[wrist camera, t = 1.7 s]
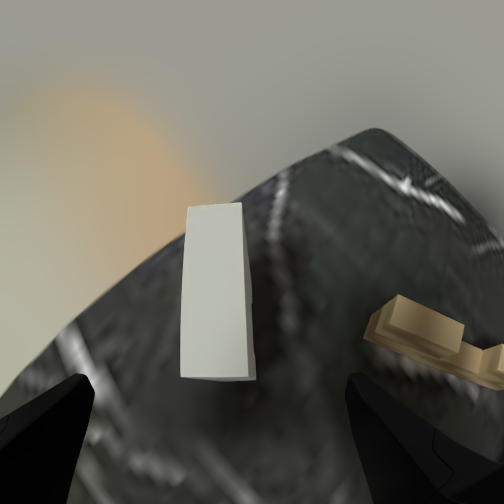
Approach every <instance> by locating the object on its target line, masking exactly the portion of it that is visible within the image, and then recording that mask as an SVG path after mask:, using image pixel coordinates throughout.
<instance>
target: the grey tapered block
mask: <svg viewBox="0 0 504 504" xmlns="http://www.w3.org/2000/svg"><path fill="white" fill-rule="evenodd" d="M251 303H252V283H251V274H250V267H249V259H248V251H247V243H246V235H245V227H244V219H243V211H242V203H227V204H216V205H215V204H214V205H202V206H192V207H188V211H187V222H186V234H185V247H184V262H183V280H182V303H181V377H186V378H194V379H202V380H212V381H251V380H256V362H255V354H254V348H253V328H252V307H251Z"/></svg>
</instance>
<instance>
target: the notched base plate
mask: <svg viewBox="0 0 504 504" xmlns="http://www.w3.org/2000/svg"><path fill="white" fill-rule="evenodd" d="M463 330H464V325H463V324H461V323H459V322H457V321H455V320H453V319H450V318H448V317H446V316H444V315H442V314H440V313H438V312H436V311H433V310H431V309H429V308H427V307H425V306H423V305H421V304H418V303H416V302H414V301H412V300H410V299H408V298H405V297H403V296H401V295H399V294H398V295H397V296H395V297H394V298H393V299H392V300H390V301H389V302H388V303H387V304H385V305H384V306H383V307H381V308H380V309H379V310H377V311H376V312H375V313H373V314H372V315H371V318H370V320H369V323H368V326H367V329H366V331H365V334H364V337H363V339H365V340H367V341H370V342H372V343H374V344H377V345H379V346H382V347H384V348H386V349H389V350H391V351H394V352H396V353H399V354H401V355H404V356H406V357H408V358H411V359H413V360H416V361H419V362H421V363H424V364H426V365H429V366H431V367H434V368H436V369H439V370H442V371H444V372H447V373H450V374H452V375H455V376H457V377H460V378H463V379H466V380H468V381H471V382H474V383H477V384H479V385H482V386H485V387H488V388H491V389H493V390H496V391H499V390H504V344H500V345H497V346H494V347H491V348H488V349H485V350H481V349H479V348H477V347H474V346H472V345H470V344H468V343H466V342H463V341H461V340H462V335H463Z"/></svg>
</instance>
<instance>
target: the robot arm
mask: <svg viewBox="0 0 504 504" xmlns="http://www.w3.org/2000/svg"><path fill="white" fill-rule="evenodd" d="M94 397H95V392H94V389H93V387H92V385H91V383H90V381H89V379H88V377H87V376H86V375H84V374H79V373H75V374H74V375H72V376H70V377H69V378H67V379H65V380H64V381H62V382H61V383H59V384H57V385H56V386H54V387H52V388H51V389H49V390H48V391H46V392H44V393H43V394H41V395H39V396H38V397H36V398H34V399H33V400H31V401H29V402H28V403H26V404H25V405H23V406H21V407H20V408H18V409H16V410H15V411H13V412H11V413H10V414H8V415H6V416H5V417H3V418H1V419H0V504H66V503H67V499H68V494H69V490H70V486H71V482H72V478H73V475H74V471H75V467H76V464H77V460H78V457H79V454H80V450H81V447H82V444H83V441H84V437H85V434H86V431H87V427H88V423H89V419H90V414H91V410H92V405H93V401H94ZM345 398H346V403H347V408H348V413H349V418H350V424H351V429H352V434H353V438H354V441H355V444H356V448H357V451H358V454H359V457H360V460H361V463H362V467H363V470H364V473H365V476H366V480H367V483H368V486H369V490H370V493H371V496H372V500H373V503H374V504H504V464H502V463H497V462H495V461H492V460H490V459H488V458H486V457H484V456H482V455H480V454H478V453H476V452H474V451H472V450H470V449H468V448H467V447H465V446H463V445H461V444H460V443H458V442H456V441H454V440H453V439H451V438H450V437H448V436H447V435H445V434H444V433H443V432H441V431H440V430H438V429H437V428H435V429H434V426H433V425H431V424H430V423H429V422H427V421H426V420H424V419H423V418H422V417H420V416H419V415H418V414H416V413H415V412H414V411H412V410H411V409H410V408H408V407H407V406H406V405H404V404H403V403H401V402H400V401H399V400H397V399H396V398H395V397H394V396H392V395H391V394H390V393H388V392H387V391H386V390H384V389H383V388H382V387H380V386H379V385H378V384H376V383H375V382H374V381H372V380H371V379H370V378H369V377H367V376H366V375H365V374H363V373H361V372H358V373H352V374H350V375H349V376H348V380H347V385H346V390H345Z"/></svg>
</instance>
